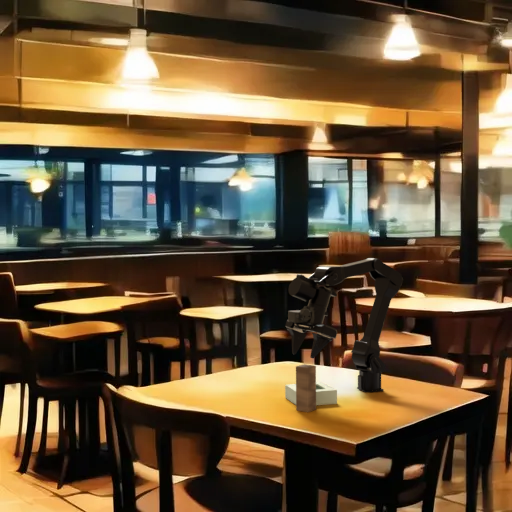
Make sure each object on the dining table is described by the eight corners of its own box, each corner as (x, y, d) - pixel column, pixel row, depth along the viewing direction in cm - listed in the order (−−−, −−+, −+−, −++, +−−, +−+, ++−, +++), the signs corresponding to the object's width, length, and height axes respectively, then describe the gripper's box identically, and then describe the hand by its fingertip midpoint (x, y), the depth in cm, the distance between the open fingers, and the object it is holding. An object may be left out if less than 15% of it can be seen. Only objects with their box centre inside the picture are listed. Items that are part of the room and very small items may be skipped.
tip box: (322, 394, 228) (322, 381, 228) (337, 403, 217) (336, 390, 216) (285, 397, 225) (285, 384, 225) (298, 406, 213) (298, 393, 213)
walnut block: (304, 407, 213) (304, 364, 212) (316, 409, 210) (315, 365, 209) (296, 410, 210) (295, 366, 209) (307, 412, 207) (307, 367, 206)
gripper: (279, 295, 227) (264, 344, 224) (316, 300, 211) (300, 352, 208) (306, 306, 232) (292, 354, 230) (344, 311, 216) (329, 363, 214)
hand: (302, 355), depth 220 cm, fingers open, 9 cm apart
